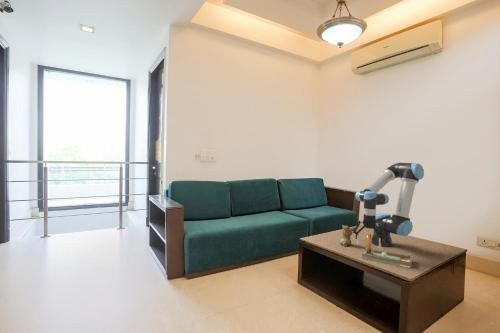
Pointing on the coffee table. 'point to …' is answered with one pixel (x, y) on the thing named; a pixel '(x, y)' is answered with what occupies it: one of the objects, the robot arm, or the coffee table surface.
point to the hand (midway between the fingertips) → (368, 245)
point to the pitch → (389, 258)
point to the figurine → (346, 236)
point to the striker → (369, 245)
